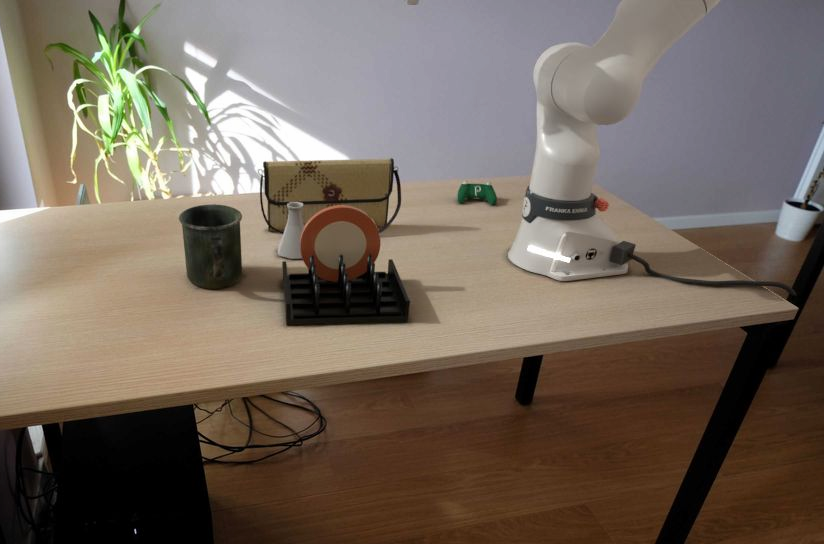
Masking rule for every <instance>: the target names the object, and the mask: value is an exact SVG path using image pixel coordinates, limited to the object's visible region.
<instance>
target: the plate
mask: <svg viewBox="0 0 824 544" xmlns="http://www.w3.org/2000/svg"><path fill="white" fill-rule="evenodd" d="M380 234H381V233H379V229H378V226H376V224H375V223H374V221H373V219H372V218H371V217H370V216H369V215H368V214H367V213H365V212H364V211H362V210H360V209H358V208H356V207H353V206H348V205H335V206H330V207H327V208H325V209H323V210H321V211H319V212H317V213H316V214H315V215H313V216H312V217H311V218H310V219H309V221H308V222H307V223H306V225H305V226H304V228H303V231H302V233H301V237H300V251H301V256H302V258H301V259H302V261H303V263H304V265H305V266H306V268H307V270H308V269H309V270H310V256H311V255H314V264H315V265H316V274H317V275H318V277H320V278H322V279H324V280H328V281H333V282H338V271H339V255H341V254H342V255H343V263H344V264H345V265H346V267H345V273H348V281H349V280H352V279H355V278H357V277H359V276H361V275H363V274H364V273H365V272H367V259H368V254H371V255H372V260H371V263H374V264H375V263H376V261H377V259H378V257H379V254H380V250H381V235H380Z"/></svg>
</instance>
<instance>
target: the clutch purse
mask: <svg viewBox="0 0 824 544" xmlns="http://www.w3.org/2000/svg"><path fill="white" fill-rule="evenodd" d="M262 167H263V169H262V168H259V169H257V173H258V175H259V176H260V183H259V201H260V208H261V209H260V210H261V213H262V216H263V219H264V221H265V223H266V225H267V231H268V232H270V231H274V232H276V233H279V234H280V235H283V233H284V231H285V228H286V225H287V221H288V215H289V209H288V207H287V204H288V203H290V202H300V203H303V208H302V218H303V224H304V226H305V225H306V223H307V222H308V221H309V219H310V218H311V217H312V216H313V215H315V214H316V213H317V212H319V211H321V210H323V209H325V208H327V207H330V206H335V205H348V206H353V207H356V208H358V209H360V210H362V211H364V212H365V213H367V214H368V215H369V216H370V217H371V218H372V219H373V221H374V223H375V224H376V226H377V227H381V228H380V229H378V231H379V234H381V233H382V232H384V231H385V230H387V229H388V227H389V226H390V225H392V223H393V221H395V219H396V218H397V216H398V214H399V212H400V210H401V205H402V186H401V180H400V176H399V167H398V166H395V161H394V158H392V157H391V158H363V159H361V158H360V159H359V158H358V159H322V160H321V159H320V160H319V159H317V160H282V161H281V160H280V161H279V160H278V161H277V160H275V161H266V160H265V161H262ZM396 168H397V169H396ZM259 171H261V173H260V172H259ZM394 177H395V181H396V182H395V183H396V191H397V204H396V208H395V210H394V213H393V215H392V217H391V218H390V219H389V221H388V218H389V217H388V216H389V205H390V196H391V195H392V192H393V188H394V187H393V186H394ZM263 181H264V196H265V198H266V213H265V209H264V202H263Z"/></svg>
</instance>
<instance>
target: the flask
mask: <svg viewBox="0 0 824 544" xmlns="http://www.w3.org/2000/svg"><path fill="white" fill-rule="evenodd" d="M287 207H288V209H289V215H288V221H287V225H286V228H285V230H283V231H284V233H283V234H282V236H281V239H280V242H279V245H278V247H277V254H278V256H280V257H282V258H286V259H290V260H294V259H302V256H301V251H300V237H301V233H302V231H303V228H304V224H303V218H302V208H303V203H300V202H290V203H288V204H287Z"/></svg>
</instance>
